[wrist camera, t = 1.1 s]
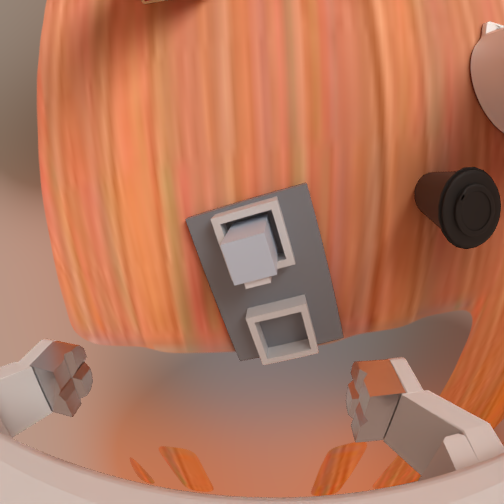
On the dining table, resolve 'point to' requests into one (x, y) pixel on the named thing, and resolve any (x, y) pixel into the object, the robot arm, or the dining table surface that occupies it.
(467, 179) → the coffee cup
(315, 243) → the panel
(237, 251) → the plug
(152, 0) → the milk carton
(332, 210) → the dining table surface
